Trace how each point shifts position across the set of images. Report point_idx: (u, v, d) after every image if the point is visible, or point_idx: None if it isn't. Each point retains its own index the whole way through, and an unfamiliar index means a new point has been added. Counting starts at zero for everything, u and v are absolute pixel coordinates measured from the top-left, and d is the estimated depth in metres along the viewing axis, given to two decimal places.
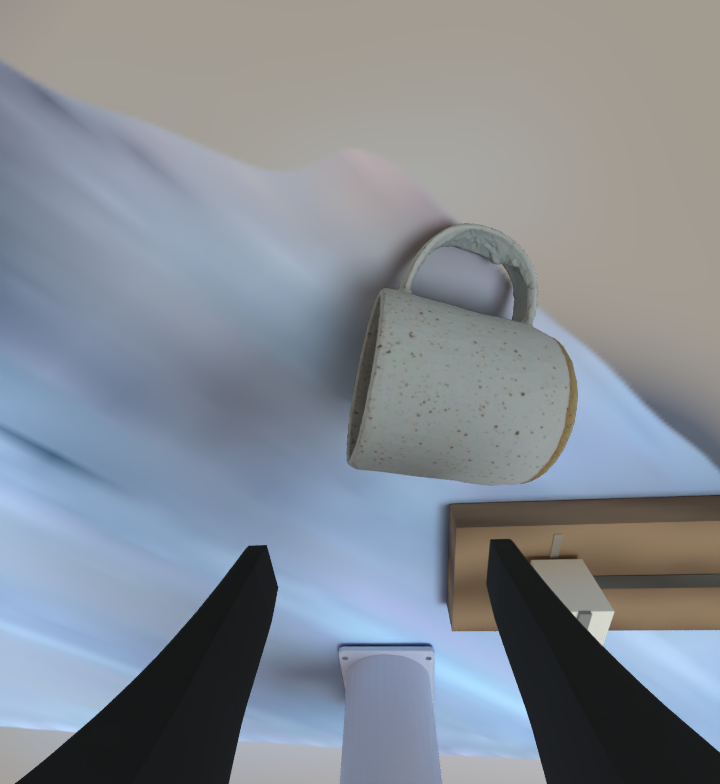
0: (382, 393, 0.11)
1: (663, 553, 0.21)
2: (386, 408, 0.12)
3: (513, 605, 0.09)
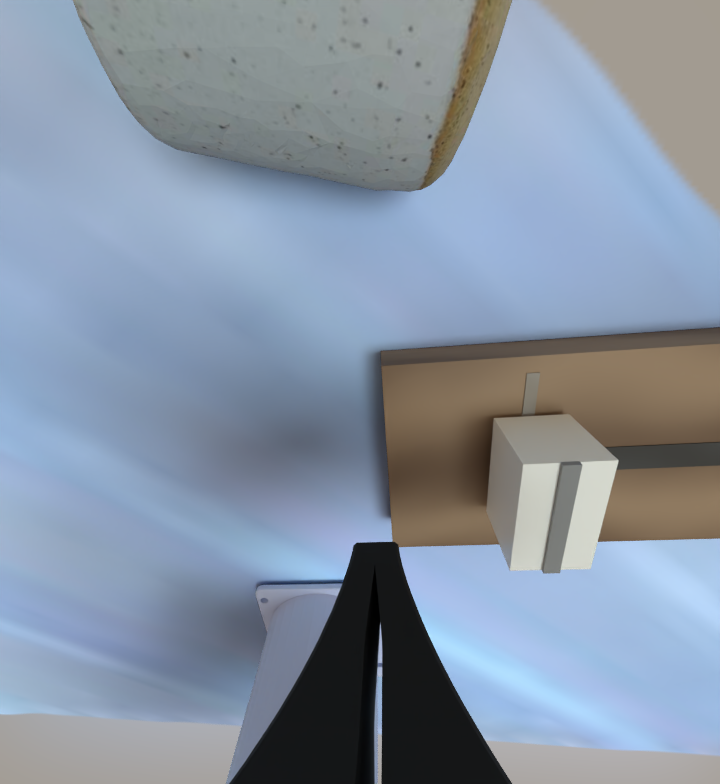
0: None
1: (690, 405, 0.14)
2: None
3: None
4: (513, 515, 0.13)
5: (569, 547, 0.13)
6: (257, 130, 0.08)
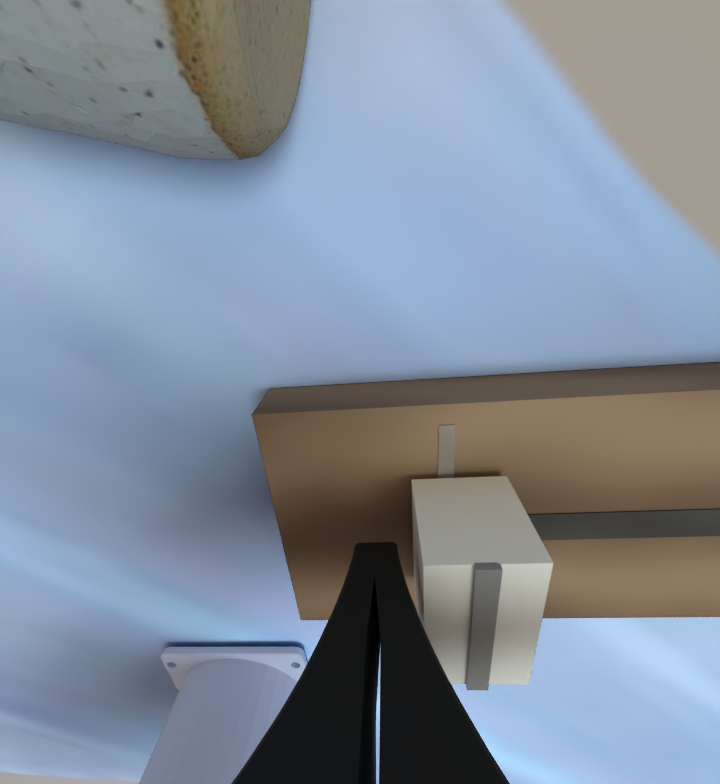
0: None
1: (651, 465, 0.11)
2: None
3: None
4: (422, 620, 0.10)
5: (497, 661, 0.10)
6: None
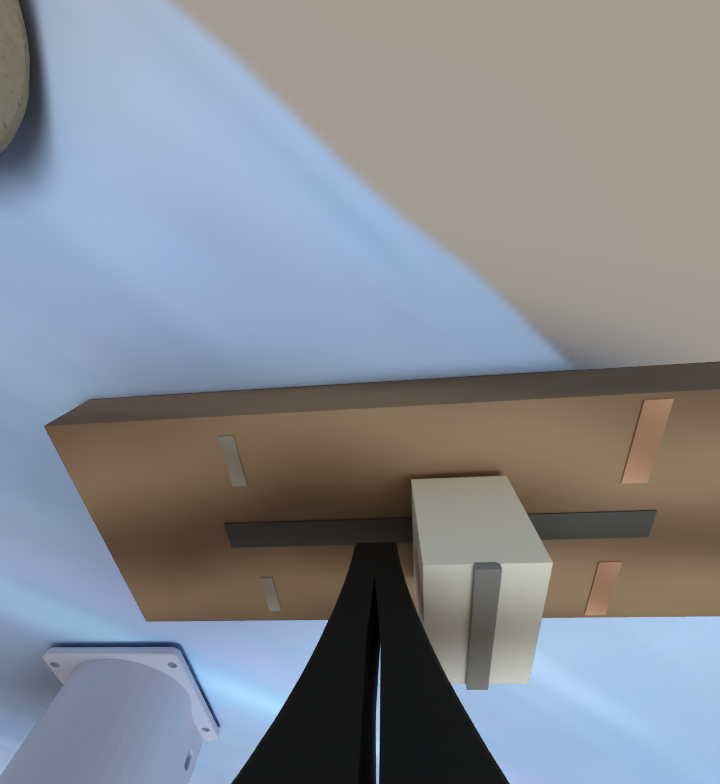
0: None
1: (426, 474, 0.12)
2: None
3: None
4: (423, 620, 0.10)
5: (497, 661, 0.10)
6: None
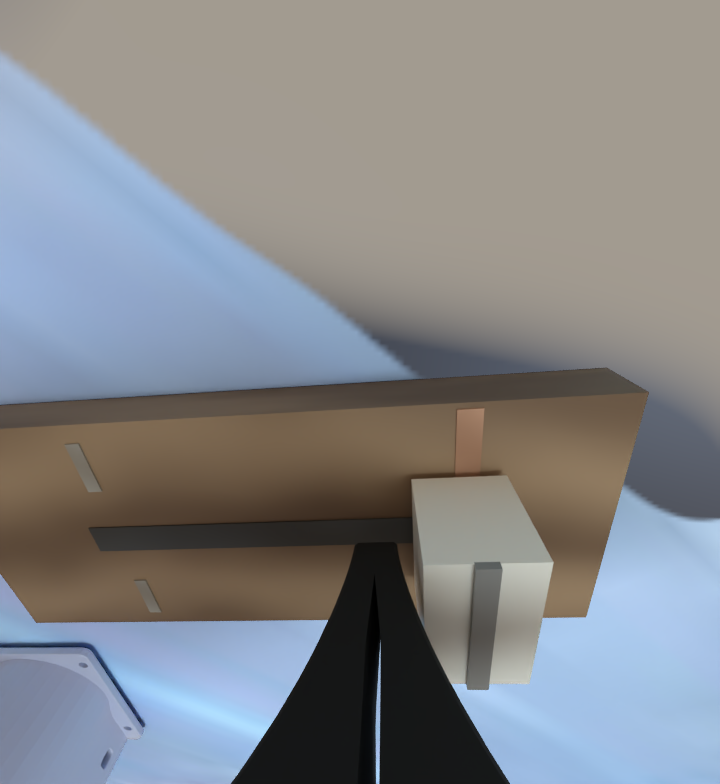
0: None
1: (269, 480, 0.12)
2: None
3: None
4: (423, 620, 0.09)
5: (498, 661, 0.10)
6: None
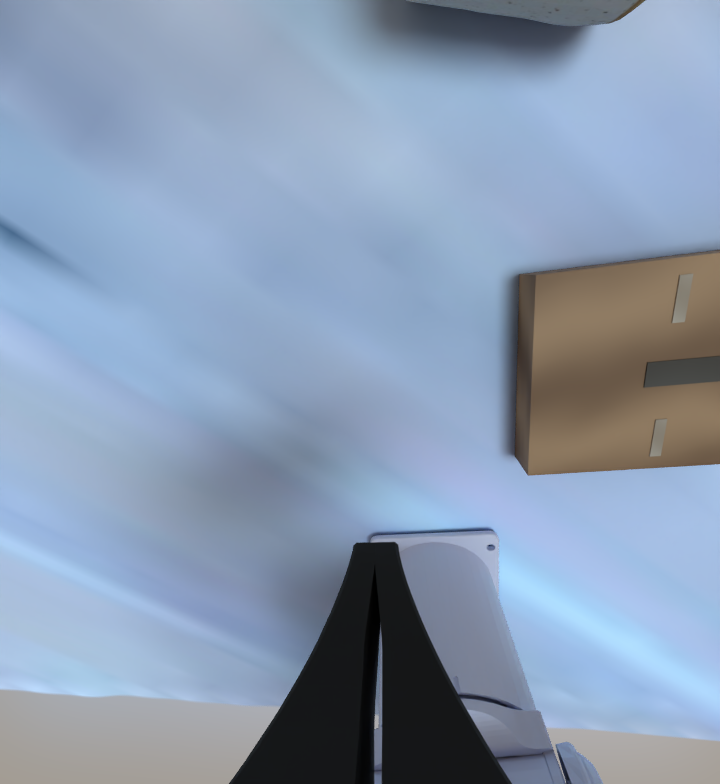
0: None
1: None
2: None
3: None
4: None
5: None
6: None
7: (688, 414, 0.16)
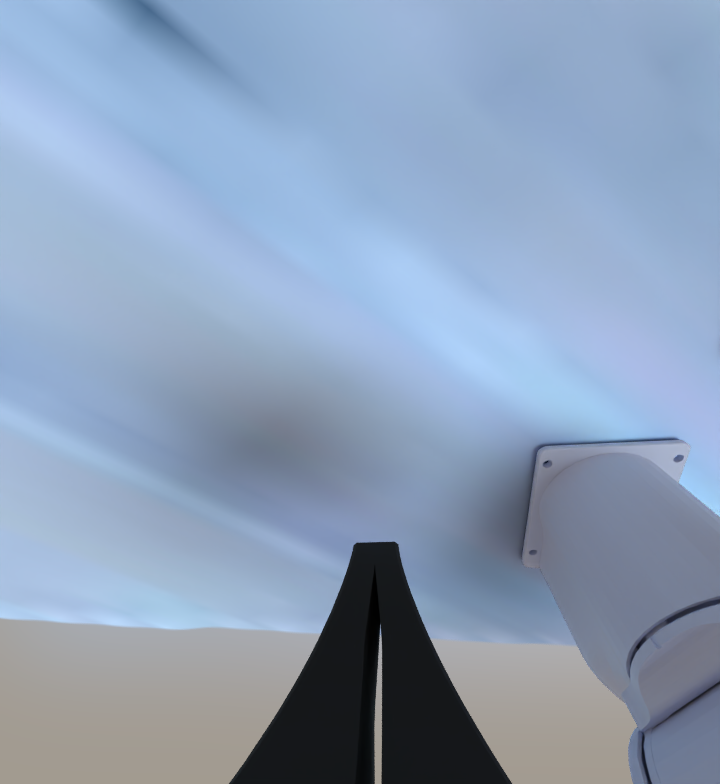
0: None
1: None
2: None
3: None
4: None
5: None
6: None
7: None
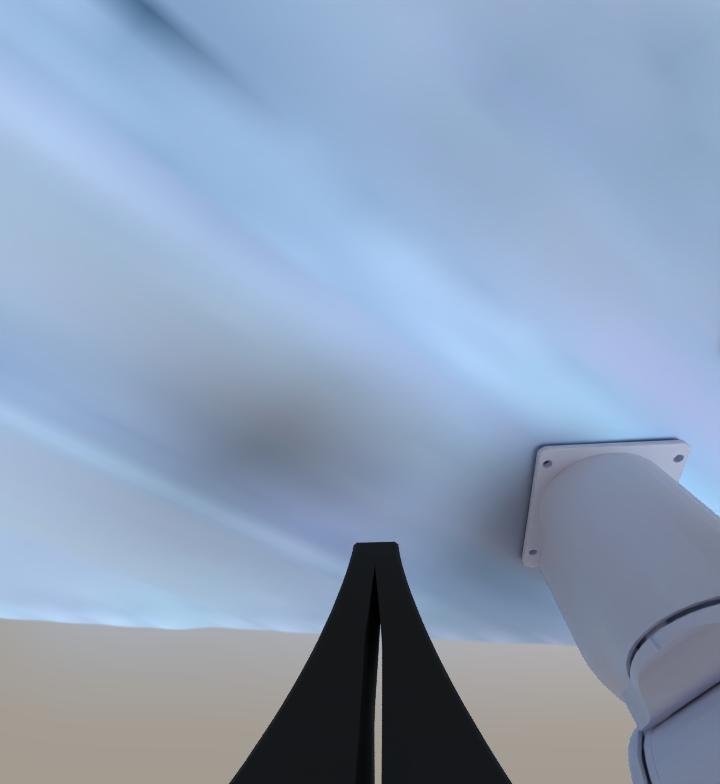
0: None
1: None
2: None
3: None
4: None
5: None
6: None
7: None
